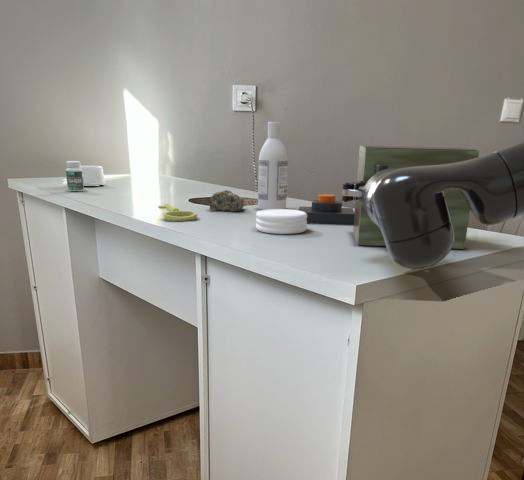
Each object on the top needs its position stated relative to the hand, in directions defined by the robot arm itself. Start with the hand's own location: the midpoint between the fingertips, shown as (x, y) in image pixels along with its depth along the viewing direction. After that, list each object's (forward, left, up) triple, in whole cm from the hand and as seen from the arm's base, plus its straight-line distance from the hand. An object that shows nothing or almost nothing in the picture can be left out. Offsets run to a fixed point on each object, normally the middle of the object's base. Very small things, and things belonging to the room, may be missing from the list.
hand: (379, 187), depth 90 cm
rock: (+31, -42, -10) cm, 53 cm away
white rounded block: (+85, -90, -10) cm, 124 cm away
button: (+8, -31, -6) cm, 32 cm away
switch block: (+8, -31, -10) cm, 33 cm away
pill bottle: (+82, -73, -10) cm, 110 cm away
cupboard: (-6, -10, -10) cm, 15 cm away
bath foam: (+21, -46, -10) cm, 51 cm away
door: (-6, 0, -10) cm, 12 cm away
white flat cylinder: (+17, -16, -10) cm, 25 cm away
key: (+41, -28, -10) cm, 50 cm away
